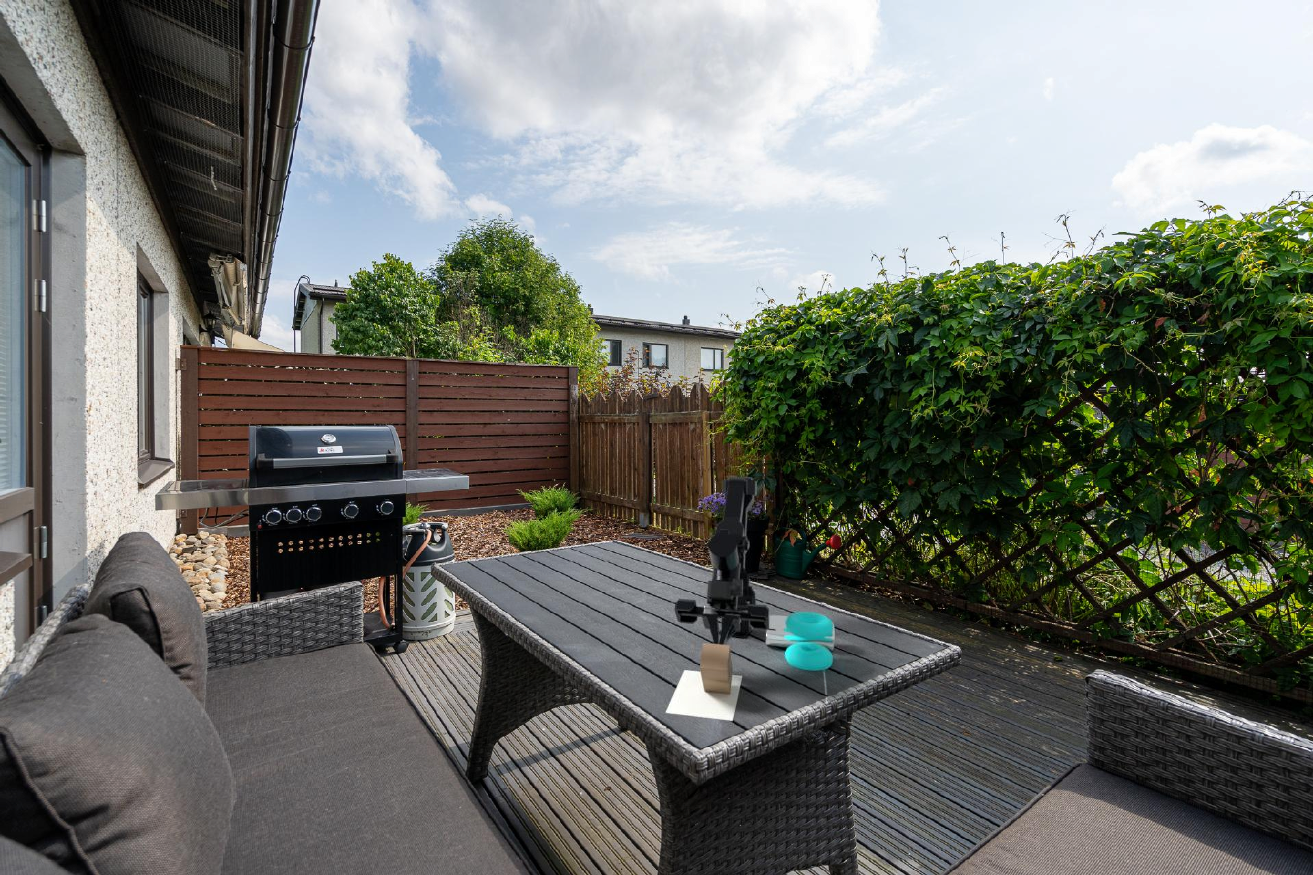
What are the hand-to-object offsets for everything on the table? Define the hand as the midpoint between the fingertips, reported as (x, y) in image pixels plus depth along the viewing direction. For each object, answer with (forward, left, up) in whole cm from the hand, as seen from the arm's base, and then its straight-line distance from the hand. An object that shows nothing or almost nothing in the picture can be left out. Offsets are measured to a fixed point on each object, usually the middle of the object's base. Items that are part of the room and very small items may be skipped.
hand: (717, 655), depth 117 cm
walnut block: (0, +1, -5) cm, 5 cm away
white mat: (-1, -2, -7) cm, 8 cm away
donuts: (+13, +21, -8) cm, 26 cm away
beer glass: (+16, +31, -4) cm, 36 cm away
